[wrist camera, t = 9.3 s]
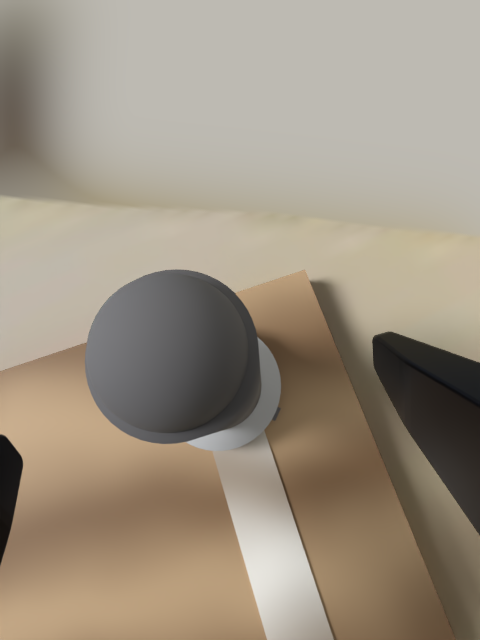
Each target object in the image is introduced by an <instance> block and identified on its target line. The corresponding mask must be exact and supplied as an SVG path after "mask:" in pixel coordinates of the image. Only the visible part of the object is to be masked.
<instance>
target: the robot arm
mask: <svg viewBox="0 0 480 640" xmlns="http://www.w3.org/2000/svg"><path fill="white" fill-rule="evenodd" d="M372 343H373V362H374V368H375V371H376V373H377V375H378V377H379V379H380V381H381V383H382V384H383V386H384V388H385V390H386V392H387V394H388V396H389V398H390V400H391V401H392V403H393V405H394V407H395V409H396V411H397V413H398V415H399V416H400V418H401V420H402V422H403V424H404V425H405V427H406V429H407V430H408V432H409V433H410V435H411V436H412V438H413V439H414V440H415V442H416V443H417V445H418V446H419V448H420V449H421V451H422V452H423V454H424V455H425V456H426V458H427V459H428V461H429V462H430V464H431V465H432V467H433V468H434V470H435V471H436V472H437V474H438V475H439V477H440V478H441V480H442V481H443V483H444V484H445V485H446V487H447V488H448V490H449V491H450V493H451V494H452V496H453V497H454V499H455V500H456V501H457V503H458V504H459V506H460V507H461V509H462V510H463V512H464V513H465V515H466V516H467V517H468V519H469V520H470V522H471V523H472V525H473V526H474V528H475V529H476V531H477V532H478V533H479V535H480V363H479V362H476V361H473V360H470V359H468V358H465V357H462V356H459V355H456V354H453V353H450V352H448V351H445V350H442V349H439V348H436V347H433V346H431V345H428V344H425V343H422V342H419V341H416V340H414V339H411V338H408V337H405V336H402V335H399V334H397V333H394V332H385V333H382V334H378V335H375V336H374V337H373V341H372ZM22 470H23V459H22V456H21V455H20V453H19V452H18V451H17V450H16V448H15V447H14V446H13V444H12V443H11V442H10V440H9V439H8V438H7V437H6V436H5V435H3V434H0V566H1V562H2V559H3V555H4V552H5V549H6V545H7V542H8V538H9V535H10V531H11V527H12V522H13V517H14V512H15V507H16V502H17V496H18V491H19V486H20V481H21V476H22Z"/></svg>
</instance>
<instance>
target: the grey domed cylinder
mask: <svg viewBox="0 0 480 640" xmlns="http://www.w3.org/2000/svg"><path fill="white" fill-rule="evenodd" d="M85 373H86V378H87V383H88V386H89V389H90V392H91V395H92V397H93V399H94V401H95V403H96V405H97V406H98V408H99V409H100V411H101V412H102V414H103V415H104V416H105V417H106V418H107V419H108V420H109V421H110V422H111V423H112V424H113V425H114V426H116V427H117V428H118V429H119V430H121V431H123V432H124V433H126V434H128V435H130V436H132V437H134V438H137V439H139V440H143V441H147V442H151V443H159V444H177V443H182V442H186V443H188V444H190V445H192V446H195V447H197V448H200V449H204V450H210V451H225V450H231V449H235V448H238V447H241V446H243V445H245V444H247V443H249V442H250V441H252V440H253V439H255V438H256V437H257V436H258V435H260V434H261V433H262V432H263V431H264V429H265V428H266V427H267V426H268V425H269V423H270V422H271V420H272V418H273V416H274V414H275V412H276V410H277V407H278V404H279V400H280V394H281V378H280V373H279V369H278V366H277V363H276V360H275V358H274V356H273V354H272V353H271V351H270V350H269V348H268V347H267V346H266V345H265V344H264V343H263V341H261V340H260V339H259V338H258V337H257V333H256V329H255V326H254V323H253V320H252V318H251V316H250V314H249V312H248V310H247V308H246V307H245V305H244V304H243V302H242V301H241V300H240V298H239V297H238V296H237V295H236V294H235V293H234V292H233V291H232V290H231V289H229V288H228V287H227V286H226V285H224V284H223V283H221V282H220V281H218V280H216V279H214V278H212V277H210V276H208V275H205V274H202V273H199V272H194V271H189V270H165V271H160V272H155V273H152V274H148V275H145V276H143V277H141V278H139V279H136V280H134V281H132V282H130V283H128V284H127V285H125V286H123V287H122V288H120V289H119V290H118V291H116V292H115V293H114V294H113V295H112V296H111V297H110V298H109V299H108V300H107V301H106V302H105V303H104V305H103V306H102V307H101V309H100V310H99V312H98V313H97V315H96V317H95V319H94V321H93V323H92V326H91V329H90V332H89V335H88V341H87V346H86V351H85Z"/></svg>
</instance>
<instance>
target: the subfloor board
mask: <svg viewBox="0 0 480 640" xmlns="http://www.w3.org/2000/svg"><path fill="white" fill-rule="evenodd" d="M235 294H236V295H237V296H238V297H239V298H240V300H241V301H242V302H243V304H244V305H245V307H246V308H247V310H248V312H249V314H250V316H251V318H252V320H253V323H254V326H255V329H256V333H257V337H258V338H259V339H260V340H261V341H263V343H264V344H265V345H266V346H267V347H268V348H269V350H270V351H271V353H272V354H273V356H274V358H275V360H276V363H277V366H278V369H279V373H280V378H281V394H280V400H279V404H278V407H277V410H276V412H275V414H274V416H273V418H272V420H271V422H270V423H269V425H268V426H267V427H266V428H265V429H264V431H263V432H262V433H261V434H260V435H258V436H257V437H256V438H255V439H253V440H252V441H250V442H249V443H247V444H245V445H243V446H241V447H238V448H235V449H231V450H225V451H210V450H204V449H200V448H197V447H195V446H192V445H190V444H188V443H186V442H182V443H177V444H159V443H151V442H147V441H143V440H139V439H137V438H134V437H132V436H130V435H128V434H126V433H124V432H123V431H121V430H119V429H118V428H117V427H116V426H114V425H113V424H112V423H111V422H110V421H109V420H108V419H107V418H106V417H105V416H104V415H103V414H102V412H101V411H100V409H99V408H98V406H97V405H96V403H95V401H94V399H93V397H92V395H91V392H90V389H89V386H88V383H87V378H86V373H85V351H86V346H87V343H84V344H81V345H78V346H75V347H72V348H69V349H66V350H63V351H60V352H57V353H54V354H51V355H48V356H45V357H42V358H39V359H36V360H33V361H30V362H27V363H24V364H21V365H18V366H15V367H12V368H9V369H6V370H3V371H0V434H3V435H5V436H6V437H7V438H8V439H9V440H10V442H11V443H12V444H13V446H14V447H15V448H16V450H17V451H18V452H19V453H20V455H21V456H22V459H23V470H22V476H21V481H20V486H19V491H18V496H17V502H16V507H15V512H14V517H13V522H12V527H11V531H10V535H9V538H8V542H7V545H6V549H5V552H4V555H3V559H2V562H1V566H0V640H456V638H455V636H454V634H453V631H452V629H451V626H450V624H449V621H448V619H447V616H446V614H445V612H444V609H443V607H442V604H441V602H440V599H439V597H438V594H437V592H436V590H435V587H434V585H433V582H432V580H431V577H430V575H429V572H428V570H427V567H426V565H425V563H424V560H423V558H422V555H421V553H420V550H419V548H418V545H417V543H416V541H415V538H414V536H413V533H412V531H411V528H410V526H409V523H408V521H407V518H406V516H405V514H404V511H403V509H402V506H401V504H400V501H399V499H398V496H397V494H396V492H395V489H394V487H393V484H392V482H391V479H390V477H389V474H388V472H387V470H386V467H385V465H384V462H383V460H382V457H381V455H380V452H379V450H378V447H377V445H376V443H375V440H374V438H373V435H372V433H371V430H370V428H369V425H368V423H367V421H366V418H365V416H364V413H363V411H362V408H361V406H360V403H359V401H358V398H357V396H356V394H355V391H354V389H353V386H352V384H351V381H350V379H349V376H348V374H347V372H346V369H345V367H344V364H343V362H342V359H341V357H340V354H339V352H338V350H337V347H336V345H335V342H334V340H333V337H332V335H331V332H330V330H329V327H328V325H327V323H326V320H325V318H324V315H323V313H322V310H321V308H320V305H319V303H318V301H317V298H316V296H315V293H314V291H313V288H312V286H311V283H310V281H309V279H308V276H307V274H306V271H305V270H303V271H300V272H297V273H294V274H291V275H288V276H285V277H282V278H279V279H276V280H273V281H270V282H267V283H264V284H261V285H258V286H255V287H252V288H249V289H246V290H243V291H240V292H237V293H235Z"/></svg>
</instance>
